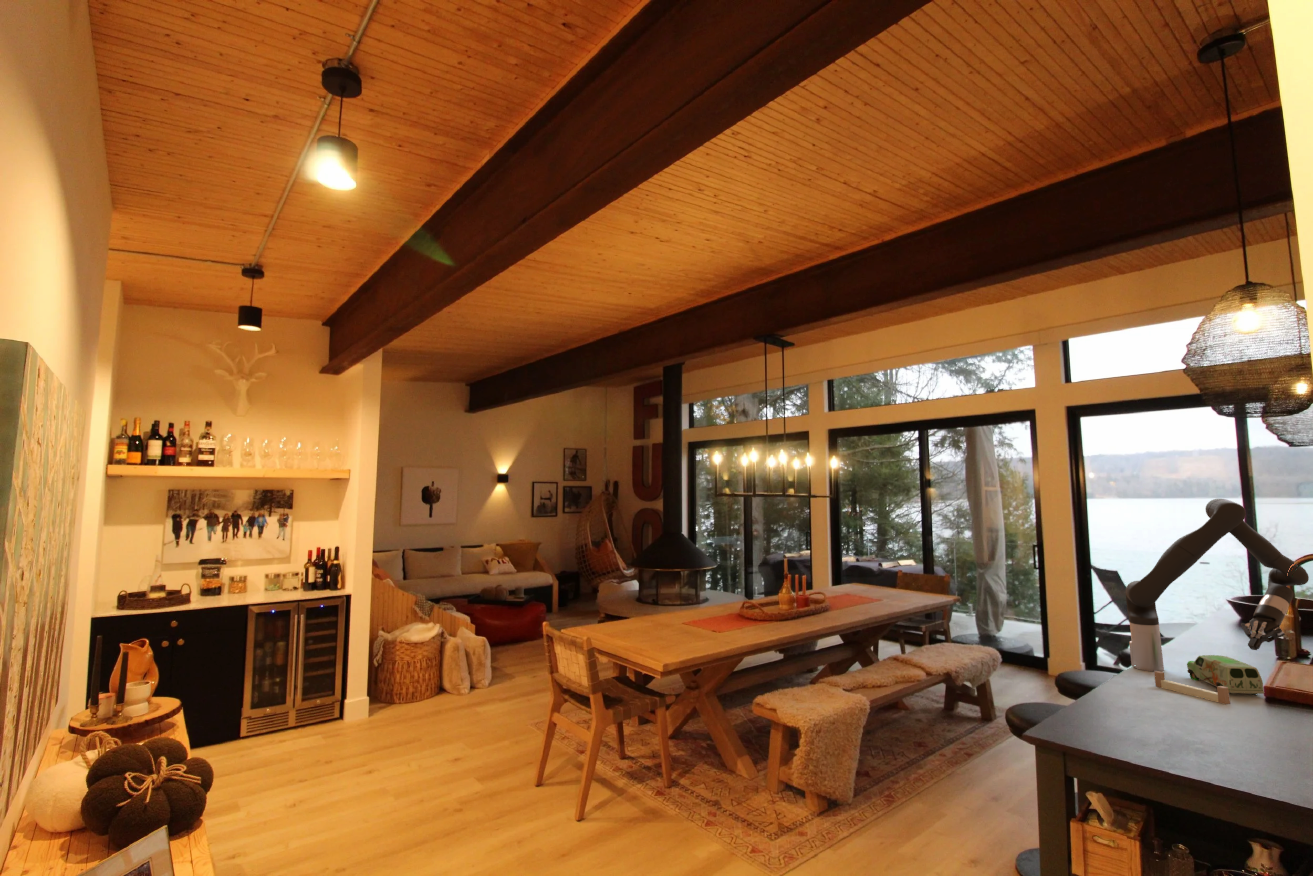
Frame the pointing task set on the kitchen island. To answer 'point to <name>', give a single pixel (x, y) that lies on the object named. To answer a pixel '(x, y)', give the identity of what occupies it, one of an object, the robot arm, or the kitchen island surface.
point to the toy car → (1226, 673)
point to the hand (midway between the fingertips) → (1252, 648)
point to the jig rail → (1193, 689)
